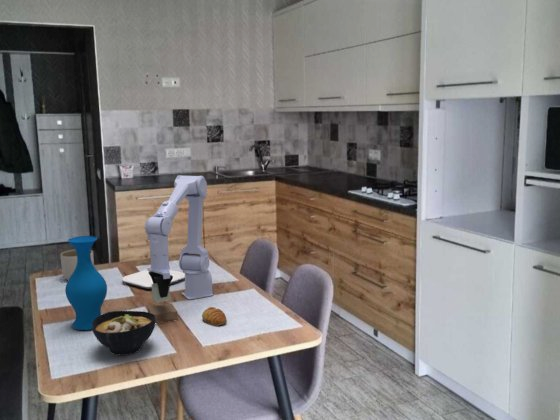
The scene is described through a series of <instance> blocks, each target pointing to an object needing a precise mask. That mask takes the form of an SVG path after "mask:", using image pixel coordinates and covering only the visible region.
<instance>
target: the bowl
mask: <svg viewBox="0 0 560 420" xmlns="http://www.w3.org/2000/svg"><path fill="white" fill-rule="evenodd" d="M155 322H156V320H155V315H154V314H152V313H148V311H147V312H146V311H139V310H115V311H114V310H113V311H108V312H105V313H101V315H100V316H98V317H96V318H95V319H94V320H93V323H92V332H93V334H94V336H95V338H96V340H97V341H98V342H99V343H100V344H101V345H102V346H103V347H105V348H106V349H108V350H109V351H110V353H111V354H112V355H115V356H128V355H132V354H135V353H137V352H140V351H141V349H142V347H143V345H144V344H145V343H146V342H147V341H148V340H149V338H150V337H151V336H152V334H153V331H154V329H155V327H156V324H155Z"/></svg>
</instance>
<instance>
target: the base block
mask: <svg viewBox="0 0 560 420" xmlns="http://www.w3.org/2000/svg"><path fill="white" fill-rule="evenodd" d="M147 312H148V313H152V314H154V315H155V320H156V322H155V323H159V324H162V323H161V322H165V323H169V322H168V321H171V322H175V321H174V320H178V319H179V318H178V310H177V309H176V307H175V306H174V304H173V303H165V304H158V305H151V306H147Z"/></svg>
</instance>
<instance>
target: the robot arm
mask: <svg viewBox="0 0 560 420" xmlns="http://www.w3.org/2000/svg"><path fill="white" fill-rule="evenodd" d="M173 185H174V189H173V191H172V192H171V194H170V197H169V198H168V200H165V201H163V202H162V204H161V205H160V206H159V208H158V209H157V210H156V212H155V213H154V215H153V216H150V217H149V218H147V220H146V221H145V224H144V225H145V226H144V232H145V233H146V235H147V236H146V237H147V239H148V241H149V255H150V257H149V258H150V267H148V268H147V269H146V270H147V271H149V275H150V276H151V278H152V281H153V284H154V283H157V285H158V289H159V294H160V297H161V298H163V297H167V295H168V290H169V289H170V283H171V281H172V279H173V276H172V275H170V272H169V271H170V270H171V266H170V258H169V257H170V256H169V238H168V236H169V234H170V233H171V229H172V225H173V221H174V218H175V217H176V215H178V212H179V208H178V206H179V205H180V203H182V201H183V200H184V199H186V200H187V201H188V213H187V214H188V217H187V237H186V238H187V239H186V240H187V243H186V246H185V247H183V248H182V249H181V250H180V256H179V259H178V266H179V269H180V270H181V271H182V273H185V279H184V292H183V291H181V294H182V296H183V297H184V298H186V299H188V300H190V301H191V300H194V299H195V300H196V299H201V298H207V297H212V296H214V293H213V277H212V273H211V271H210V270H208V269H209V266H210V258H209V250H208V249H206V248H205V247H204V246H203V245H202V239H203V238H202V235H203V234H202V232H203V231H202V230H203V210H204V200H206V199H207V191H208V190H207V189H208V188H207V187H208V182H207V180H206V178H205V177H204V176H203V175H182V174H181V175H179V174H178V175H177V176H176V178H175V180H174V183H173Z"/></svg>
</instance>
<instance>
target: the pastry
mask: <svg viewBox="0 0 560 420" xmlns="http://www.w3.org/2000/svg"><path fill="white" fill-rule="evenodd" d="M201 317H202V321H203V322H204V323H206V324H208V325H211V326H216V327H219V326H221V325H226V323H227V316H226V314H225V313H224V311H223V310H221V309H220V308H216V307H213V306H209V307H207V308H206V309H204V310H203V312H202V314H201Z"/></svg>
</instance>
